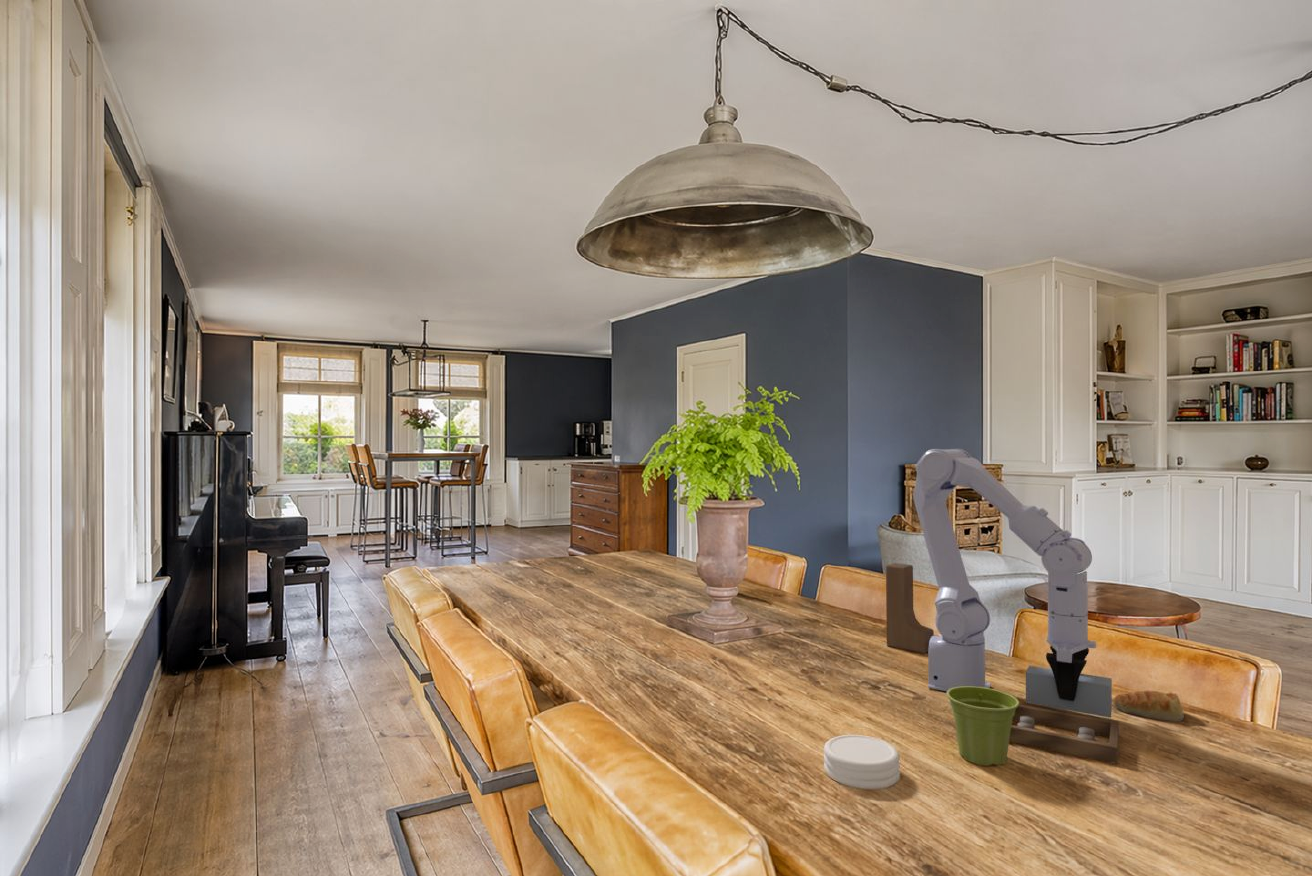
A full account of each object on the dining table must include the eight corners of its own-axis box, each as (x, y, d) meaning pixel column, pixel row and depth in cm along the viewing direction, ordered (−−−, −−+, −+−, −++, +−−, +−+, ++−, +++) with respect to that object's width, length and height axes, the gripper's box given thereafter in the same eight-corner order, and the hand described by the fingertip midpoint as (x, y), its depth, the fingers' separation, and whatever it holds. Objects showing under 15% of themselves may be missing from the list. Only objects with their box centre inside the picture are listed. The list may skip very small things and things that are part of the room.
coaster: (809, 774, 97) (809, 748, 97) (847, 751, 104) (847, 727, 104) (877, 799, 89) (876, 772, 89) (913, 773, 96) (912, 748, 96)
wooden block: (934, 650, 153) (933, 567, 154) (925, 654, 150) (924, 570, 150) (895, 642, 160) (894, 562, 160) (885, 646, 157) (885, 565, 157)
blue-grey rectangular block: (1025, 702, 118) (1025, 672, 118) (1029, 694, 122) (1028, 665, 122) (1111, 717, 111) (1110, 686, 111) (1111, 709, 115) (1111, 678, 115)
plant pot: (958, 738, 107) (957, 681, 107) (1026, 755, 101) (1025, 694, 101) (938, 759, 100) (937, 698, 100) (1010, 779, 94) (1009, 714, 94)
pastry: (1118, 717, 116) (1118, 693, 116) (1109, 703, 122) (1108, 681, 122) (1187, 724, 112) (1186, 700, 112) (1174, 710, 119) (1173, 687, 119)
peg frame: (992, 737, 107) (991, 723, 107) (1003, 714, 116) (1003, 701, 116) (1117, 763, 98) (1117, 748, 98) (1119, 736, 107) (1118, 722, 107)
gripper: (1093, 625, 108) (1094, 714, 108) (1098, 607, 120) (1098, 686, 120) (1041, 619, 112) (1042, 704, 112) (1050, 602, 124) (1051, 679, 124)
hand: (1068, 694), depth 116 cm, fingers closed on blue-grey rectangular block, 4 cm apart
